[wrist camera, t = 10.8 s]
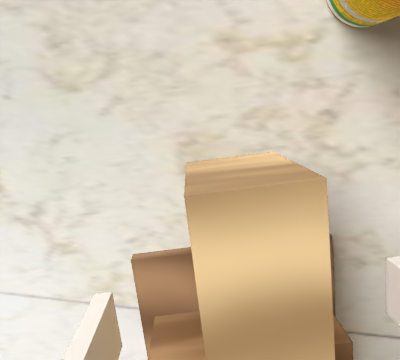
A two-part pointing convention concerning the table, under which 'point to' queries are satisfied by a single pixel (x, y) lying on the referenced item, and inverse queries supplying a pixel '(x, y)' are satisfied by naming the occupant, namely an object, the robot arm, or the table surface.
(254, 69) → the table surface
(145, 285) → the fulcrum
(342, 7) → the supplement bottle
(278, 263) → the plank
